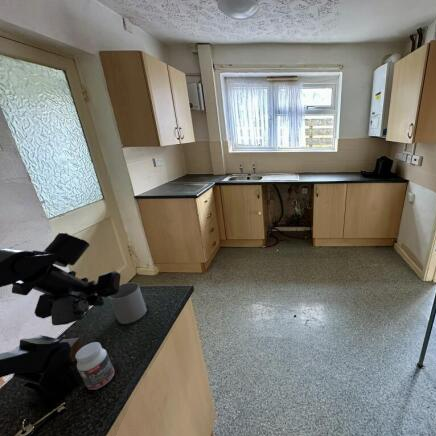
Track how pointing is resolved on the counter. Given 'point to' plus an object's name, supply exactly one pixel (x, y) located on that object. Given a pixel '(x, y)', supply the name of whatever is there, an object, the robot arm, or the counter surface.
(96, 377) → the pill bottle
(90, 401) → the counter surface
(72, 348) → the walnut block
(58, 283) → the robot arm
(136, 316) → the cup
